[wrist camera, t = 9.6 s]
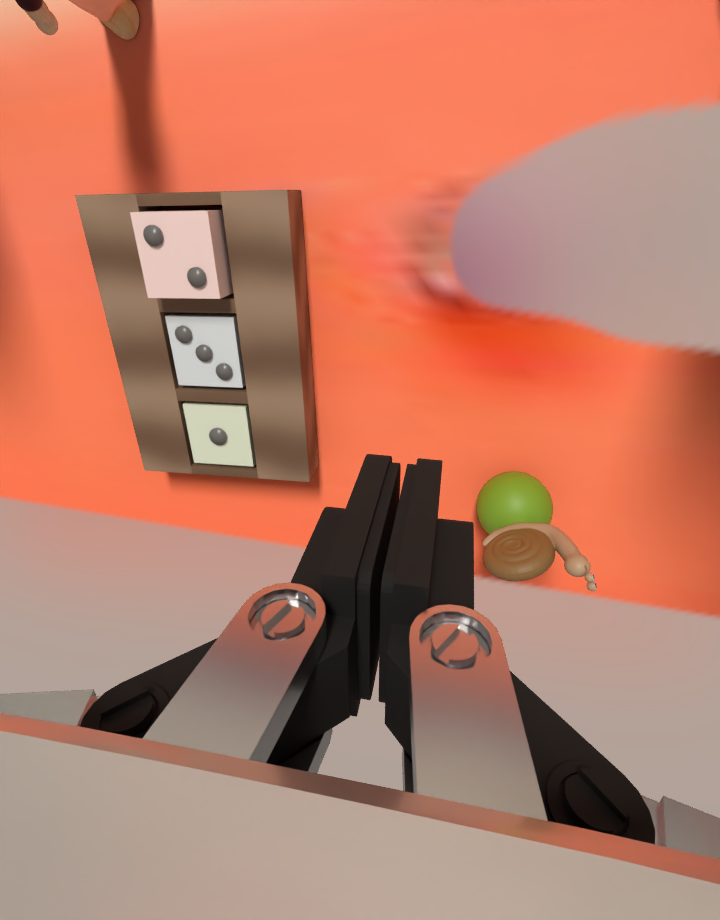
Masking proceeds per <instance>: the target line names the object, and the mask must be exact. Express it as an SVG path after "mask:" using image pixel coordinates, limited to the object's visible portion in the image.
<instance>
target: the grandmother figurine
mask: <svg viewBox="0 0 720 920" xmlns="http://www.w3.org/2000/svg"><path fill="white" fill-rule="evenodd" d="M69 1H71V2H72V3H73V4H75V5H77V6H78V7H80V8H81V9H83V10H85V11H86V12H88V13H90V14H92V15H94V16H95V17H97V18H98V19H99V20H100V21H101V22H102V23H103V24H104V25H106V26H107V27H108V28H109V29H110V30H112V31H113V32H114V33H115V34H116V35H118V36H119V37H121V38H122V39H125V40H130V39H132V38H133V37H134V36H135V35H136V34H137V31H138V27H139V14H138V10H137V8H136V6H135V4H134V3H133V2H132V1H131V0H69ZM16 2H17V4H18V5H19V6H20V7H21V8H22V9H24V10H25V12H26V13H27V14H28V15H29V17H30V18H31V19H32V20H34V21H35V23H36V25H37V26H38V28H39V29H40V30H41V31H42V32H43V33H45V34H47V35H53V34H55V33H56V32H57V30H58V22H57V20H56V18H55V16H54V15H53V14H52V13H51V12H50V11H49V9H48V7H47V5H46V4H45V2H44V1H43V0H16Z"/></svg>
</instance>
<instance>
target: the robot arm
mask: <svg viewBox="0 0 720 920" xmlns="http://www.w3.org/2000/svg"><path fill="white" fill-rule="evenodd" d="M441 472H442V460H430V459H419V458H418V460H417V465H414V464H407V468H406V473H405V477H404V482H403V486H402V490H401V495H400V463H392V457H391V456H384V455H373V454H367V455H366V457H365V460H364V462H363V465H362V467H361V470H360V473H359V475H358V478H357V481H356V483H355V486H354V488H353V491H352V494H351V496H350V499H349V501H348V504H347V507H346V509H344V508H334V507H326V508H324V510H323V512H322V514H321V516H320V518H319V521H318V523H317V525H316V527H315V530H314V532H313V534H312V536H311V538H310V541H309V543H308V545H307V547H306V550H305V552H304V554H303V556H302V558H301V561H300V563H299V565H298V567H297V570H296V572H295V574H294V576H293V579H292V581H291V583H281V584H275V585H272V586H268V587H265V588H263V589H261V590H259V591H258V592H256V593H254V594H253V595H252V596H251V597H250V598H249V599H248V600H247V601H246V602H245V603H244V604H243V606H242V607H241V608H240V610H239V611H238V613H236V615H235V616H234V617H233V619H232V621H230V623H229V624H228V626H227V627H226V628H225V629H224V631H223V632H222V634H221V635H220V636H219V637H218V638H217V639H214V640H212V641H211V642H208V643H206V644H204V645H202V646H200V647H197V648H195V649H193V650H191V651H189V652H187V653H184V654H182V655H180V656H178V657H176V658H174V659H172V660H169V661H167V662H165V663H163V664H161V665H159V666H157V667H154V668H152V669H150V670H148V671H146V672H144V673H142V674H140V675H137V676H135V677H133V678H131V679H129V680H127V681H124V682H122V683H120V684H119V685H117V686H115V687H114V688H112V689H110V690H108V691H107V692H105V693H104V694H103V695H102V696H96V694H95V692H94V689H93V690H72V691H52V692H32V693H10V694H0V920H720V818H717V817H715V816H712V815H710V814H708V813H705V812H703V811H700V810H697V809H695V808H693V807H690V806H687V805H685V804H682V803H680V802H677V801H675V800H672V799H670V798H667V797H665V796H663V797H662V799H661V801H660V803H659V802H657V801H654V800H652V799H649V798H647V797H645V796H642V795H640V793H639V791H638V790H637V789H636V788H635V787H634V786H633V784H632V783H631V782H630V781H629V780H628V779H627V778H626V777H625V776H624V775H623V774H622V773H621V772H620V771H619V770H618V769H617V768H616V767H615V766H613V765H612V764H611V763H610V762H609V761H608V760H607V759H606V758H605V757H604V756H603V755H602V754H600V753H599V752H598V751H597V750H596V749H595V748H594V747H593V746H592V745H591V744H589V743H588V742H587V741H586V740H585V739H584V738H583V737H582V736H581V735H580V734H579V733H577V732H576V731H575V730H574V729H573V728H572V727H571V726H570V725H569V724H568V723H566V722H565V721H564V720H563V719H562V718H561V717H560V716H559V715H558V714H557V713H556V712H554V711H553V710H552V709H551V708H550V707H549V706H548V705H547V704H546V703H545V702H543V701H542V700H541V699H540V698H539V697H538V696H537V695H536V694H535V693H534V692H533V691H531V690H530V689H529V688H528V687H527V686H526V685H525V684H524V683H522V681H520V680H519V679H518V678H517V677H516V676H515V675H514V674H513V673H512V672H511V671H510V670H509V667H508V663H507V659H506V655H505V651H504V647H503V643H502V639H501V637H500V635H499V633H498V631H497V629H496V627H495V626H494V625H493V624H492V623H491V622H490V621H489V620H488V619H487V618H486V617H484V616H483V615H481V614H480V613H478V612H477V611H475V610H474V529H473V522H466V521H456V520H447V519H438V507H439V496H440V484H441ZM399 495H400V499H399ZM379 655H380V657H379ZM379 658H380V660H379ZM378 660H379V702H384V703H385V724H386V726H387V727H388V728H389V730H390V731H391V732H392V734H393V735H394V736H395V738H396V739H397V740H398V741H399V743H400V744H401V745H402V747H403V752H402V767H403V791H400V790H396V789H391V788H386V787H381V786H376V785H371V784H366V783H361V782H356V781H351V780H346V779H341V778H336V777H331V776H326V775H322V774H317V772H318V770H319V767H320V765H321V763H322V760H323V758H324V755H325V753H326V750H327V748H328V746H329V743H330V739H331V735H332V728H333V727H334V726H336V725H338V724H339V723H341V722H342V721H344V720H345V719H347V718H349V717H350V715H351V716H357V713H358V709H359V704H360V699H367V700H370V699H371V696H372V691H373V686H374V681H375V676H376V671H377V666H378Z"/></svg>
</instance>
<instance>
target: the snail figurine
mask: <svg viewBox="0 0 720 920" xmlns="http://www.w3.org/2000/svg"><path fill="white" fill-rule="evenodd" d="M476 510H477V516H478V519H479V522H480V524H481V526H482V527H483V529H484V530H485V531H486V532H487V533H488V534H489V535H488V536H487V537H486V538H485V539H484V541H483V543H482V545H483V546H485V549H484V552H483V562H484V565H485V567H486V569H487V570H488V571H489V572H490V573H491V574H492V575H494V576H496V577H498V578H500V579H503V580H507V581H524V580H529V579H532V578H535V577H537V576H539V575H541V574H543V573H544V572H545V571H547V570H548V568H549V567H550V566H551V565H552V563H553V561H554V558H555V551H557V552H558V553H559V554H560V556H561V557H562V558H563V560H564V561H565V563H564V567H565V570H566V571H567V572H568V573H569V574H570V575H572V576H575V577H582V576H584V575H585V580H586V581H587V582H588V583H587V588H588V590H590V591H595V590H596V584H595V582H593V581H594V575H593V574H592V573H590V572H589V571H590V567H591V566H590V563H589V562H588V560H587V558H586V557H585V556H583V555H582V554H581V553H580V551H579V550H578V548H577V547H576V545H575V544H574V543H573V542H572V540H571V539H570V538H569V537H568V536H567V535H566V534H565V533H564V532H562V531H561V530H560V529H558V528H557V527H555V526H553V525H550V522H551V519H552V514H553V505H552V500H551V497H550V494H549V492H548V490H547V489H546V487H545V486H544V485H543V484H542V483H541V482H540V481H539V480H538V479H536V478H535V477H533V476H531V475H529V474H526V473H522V472H505V473H501V474H498V475H496V476H494V477H493V478H491V479H490V480H489V481H488V482H487V483H486V484H485V485H484V486H483V487H482V489H481V491H480V493H479V495H478V498H477V505H476Z"/></svg>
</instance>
